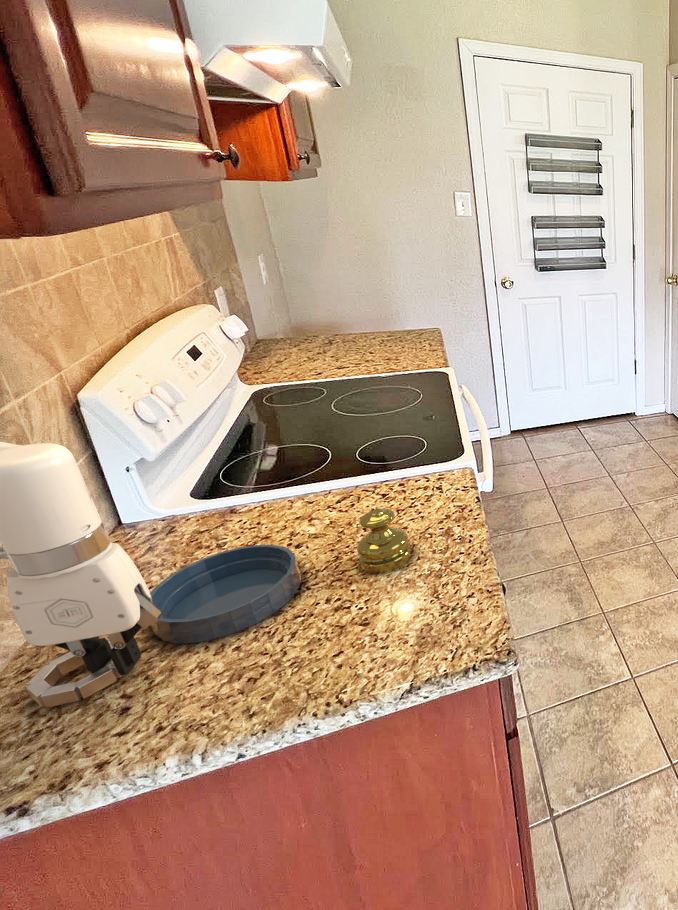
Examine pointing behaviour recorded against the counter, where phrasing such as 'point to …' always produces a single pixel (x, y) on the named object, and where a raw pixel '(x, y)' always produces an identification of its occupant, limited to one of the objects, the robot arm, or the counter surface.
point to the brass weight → (382, 543)
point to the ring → (69, 692)
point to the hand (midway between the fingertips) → (118, 668)
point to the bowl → (225, 593)
